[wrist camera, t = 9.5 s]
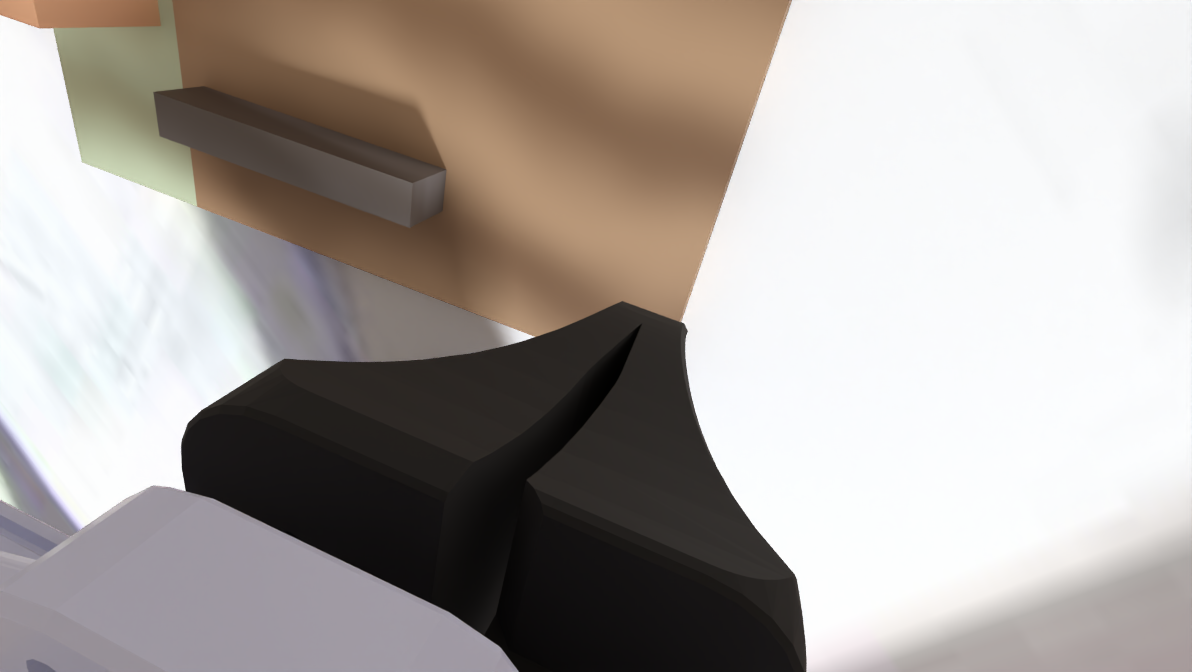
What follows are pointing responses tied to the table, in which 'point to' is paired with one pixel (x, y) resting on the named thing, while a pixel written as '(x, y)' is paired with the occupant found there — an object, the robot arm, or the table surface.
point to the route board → (444, 135)
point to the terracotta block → (82, 13)
